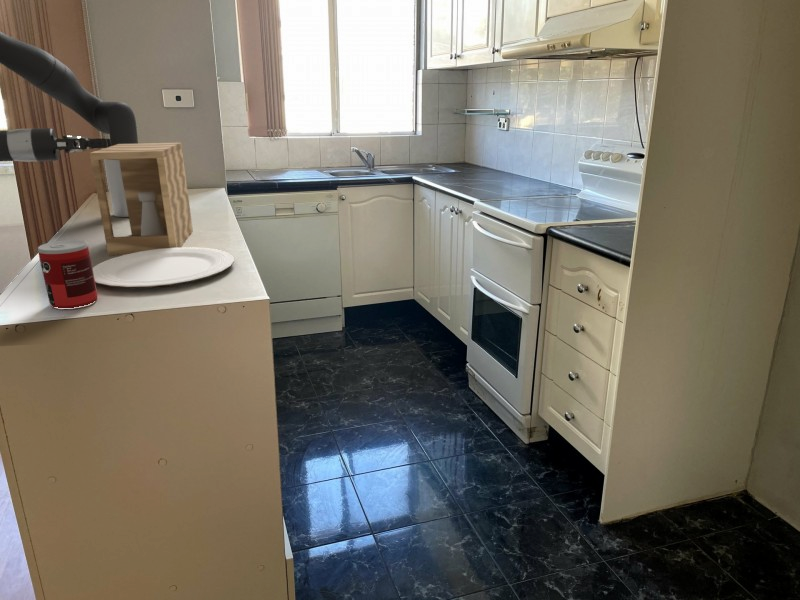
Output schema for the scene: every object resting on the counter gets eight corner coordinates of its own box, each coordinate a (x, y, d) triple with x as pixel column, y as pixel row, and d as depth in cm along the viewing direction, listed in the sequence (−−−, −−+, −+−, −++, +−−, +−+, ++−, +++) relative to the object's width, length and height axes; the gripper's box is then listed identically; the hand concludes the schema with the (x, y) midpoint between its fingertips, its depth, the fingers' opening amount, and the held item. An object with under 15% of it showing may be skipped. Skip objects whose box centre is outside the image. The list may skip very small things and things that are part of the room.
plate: (240, 251, 144) (239, 243, 143) (228, 289, 117) (227, 280, 116) (111, 258, 139) (109, 250, 138) (68, 300, 112) (66, 290, 111)
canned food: (61, 297, 113) (49, 240, 109) (105, 295, 113) (94, 238, 110) (42, 311, 105) (28, 251, 102) (88, 309, 106) (76, 249, 102)
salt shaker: (158, 245, 149) (150, 193, 144) (137, 244, 150) (129, 192, 145) (171, 240, 154) (164, 189, 150) (151, 239, 155) (143, 188, 151)
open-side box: (133, 233, 161) (118, 144, 153) (192, 231, 163) (181, 142, 155) (108, 255, 140) (89, 152, 133) (177, 252, 143) (162, 151, 135)
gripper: (23, 127, 134) (103, 126, 139) (37, 129, 147) (109, 127, 152) (29, 162, 136) (108, 159, 141) (42, 160, 149) (114, 158, 154)
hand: (108, 143), depth 147 cm, fingers open, 8 cm apart
